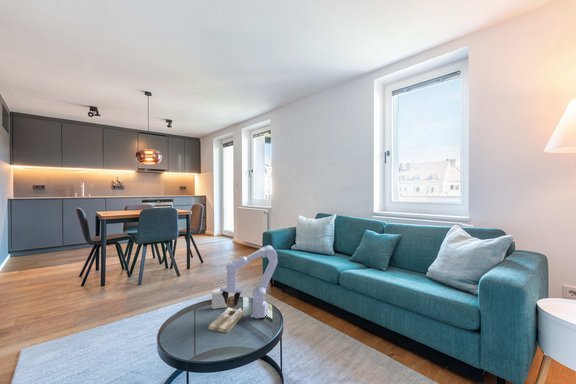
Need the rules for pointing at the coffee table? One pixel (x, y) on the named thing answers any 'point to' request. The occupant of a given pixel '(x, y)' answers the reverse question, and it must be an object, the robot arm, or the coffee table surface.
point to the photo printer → (218, 299)
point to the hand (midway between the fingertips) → (231, 303)
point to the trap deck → (226, 321)
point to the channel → (232, 315)
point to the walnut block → (231, 302)
